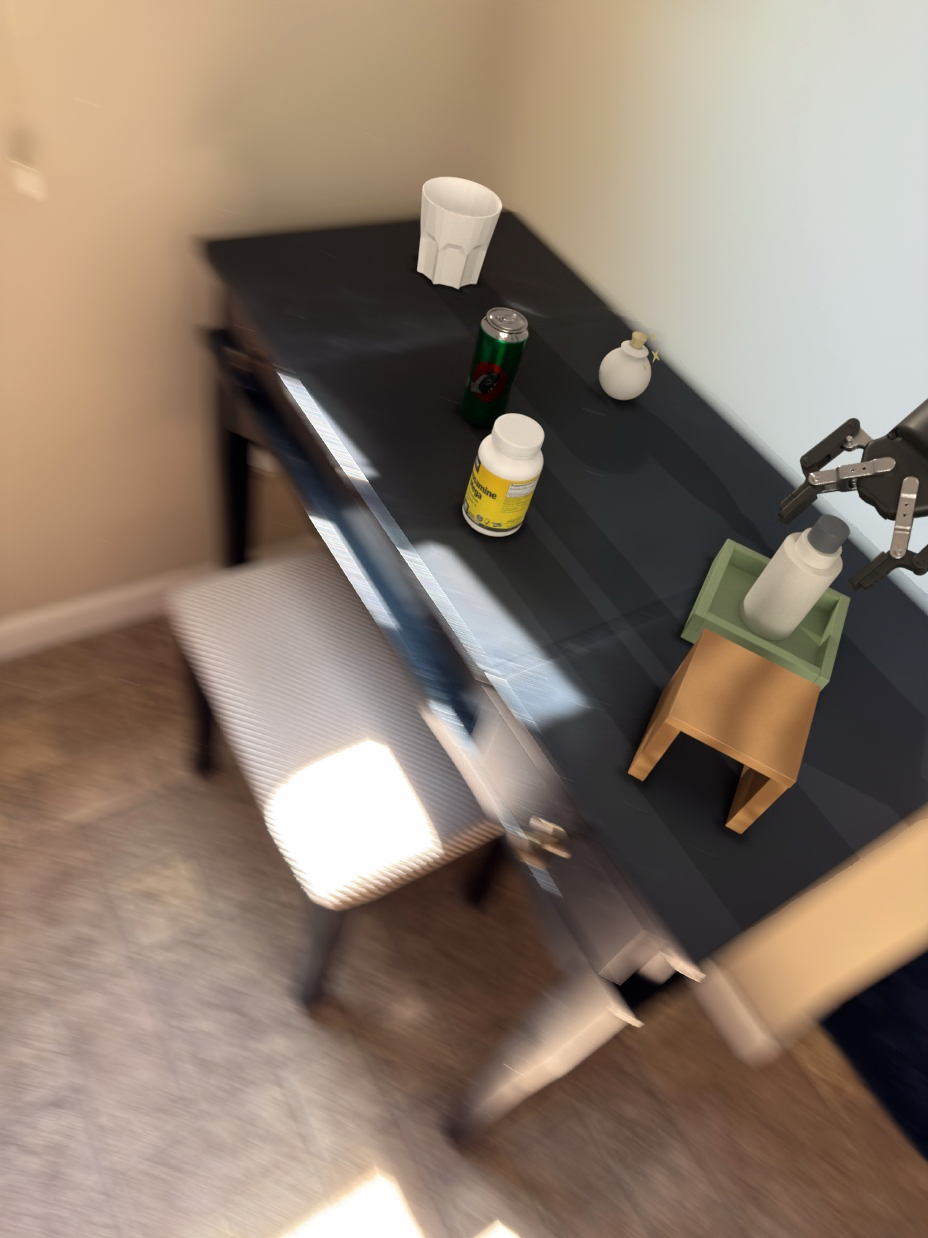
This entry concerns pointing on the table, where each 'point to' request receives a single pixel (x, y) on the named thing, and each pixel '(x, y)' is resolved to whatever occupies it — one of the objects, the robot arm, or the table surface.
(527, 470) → the pill bottle
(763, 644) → the sage green tray
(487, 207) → the cup
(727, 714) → the wooden stand
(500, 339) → the soda can
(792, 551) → the white bottle
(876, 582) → the robot arm
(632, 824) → the table surface
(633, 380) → the round potion bottle
